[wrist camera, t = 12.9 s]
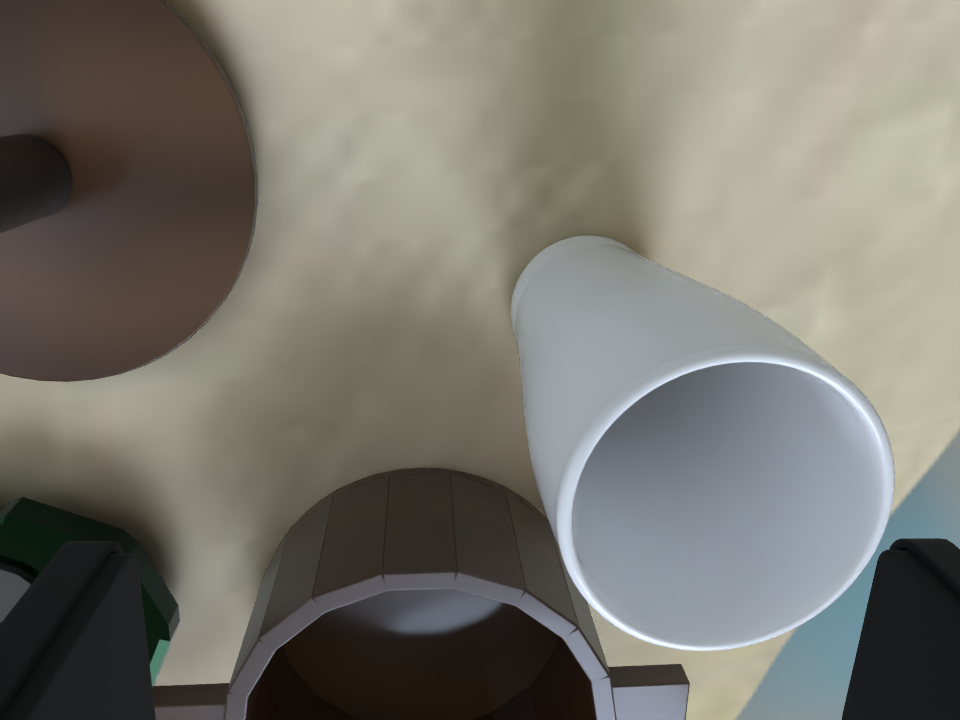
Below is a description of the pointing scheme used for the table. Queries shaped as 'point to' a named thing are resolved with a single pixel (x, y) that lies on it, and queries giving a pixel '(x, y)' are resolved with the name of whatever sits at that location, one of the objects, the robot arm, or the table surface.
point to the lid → (114, 186)
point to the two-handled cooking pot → (424, 618)
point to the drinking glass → (691, 451)
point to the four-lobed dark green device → (44, 529)
